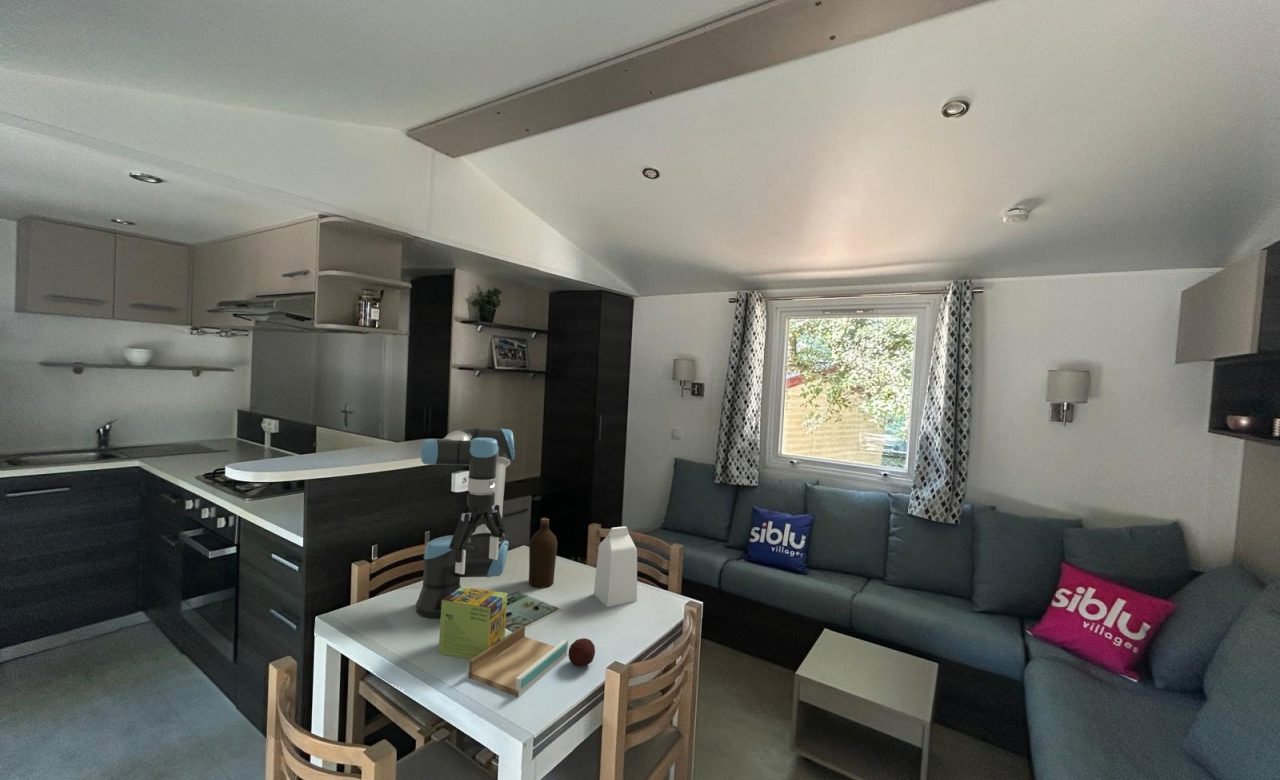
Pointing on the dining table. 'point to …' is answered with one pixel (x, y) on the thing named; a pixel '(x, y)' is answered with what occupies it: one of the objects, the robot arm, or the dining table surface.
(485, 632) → the protein box
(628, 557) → the milk
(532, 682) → the rail
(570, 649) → the dark red ball
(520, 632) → the back lip
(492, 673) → the shelf board
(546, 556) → the olive oil
